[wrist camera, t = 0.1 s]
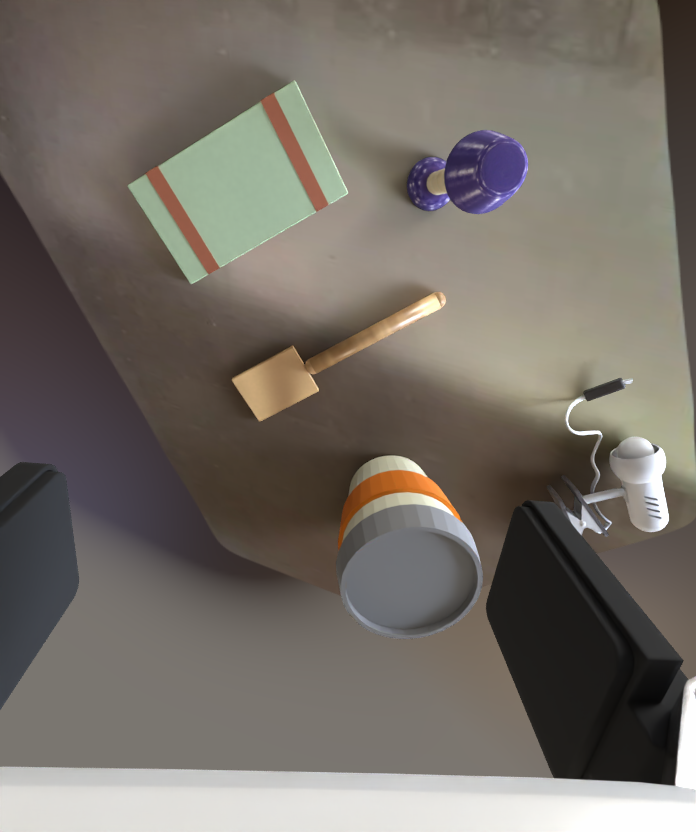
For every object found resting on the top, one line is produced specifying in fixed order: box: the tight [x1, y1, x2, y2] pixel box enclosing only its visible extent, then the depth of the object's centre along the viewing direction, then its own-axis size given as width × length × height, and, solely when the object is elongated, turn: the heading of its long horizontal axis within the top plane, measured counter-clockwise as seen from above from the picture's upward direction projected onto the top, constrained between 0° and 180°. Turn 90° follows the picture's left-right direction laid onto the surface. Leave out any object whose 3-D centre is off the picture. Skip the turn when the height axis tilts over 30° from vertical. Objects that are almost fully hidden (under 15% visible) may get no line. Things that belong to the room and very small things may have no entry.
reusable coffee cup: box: [336, 455, 483, 639], centre depth 46 cm, size 13×13×15 cm
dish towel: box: [128, 81, 348, 284], centre depth 40 cm, size 9×16×2 cm, turn 118°
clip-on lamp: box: [547, 378, 669, 537], centre depth 50 cm, size 12×6×18 cm
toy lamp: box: [407, 130, 528, 214], centre depth 34 cm, size 5×5×17 cm
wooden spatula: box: [232, 292, 446, 422], centre depth 46 cm, size 22×5×2 cm, turn 118°
